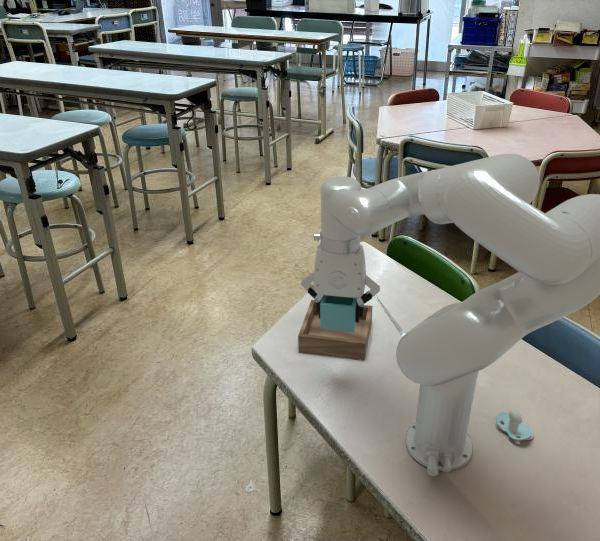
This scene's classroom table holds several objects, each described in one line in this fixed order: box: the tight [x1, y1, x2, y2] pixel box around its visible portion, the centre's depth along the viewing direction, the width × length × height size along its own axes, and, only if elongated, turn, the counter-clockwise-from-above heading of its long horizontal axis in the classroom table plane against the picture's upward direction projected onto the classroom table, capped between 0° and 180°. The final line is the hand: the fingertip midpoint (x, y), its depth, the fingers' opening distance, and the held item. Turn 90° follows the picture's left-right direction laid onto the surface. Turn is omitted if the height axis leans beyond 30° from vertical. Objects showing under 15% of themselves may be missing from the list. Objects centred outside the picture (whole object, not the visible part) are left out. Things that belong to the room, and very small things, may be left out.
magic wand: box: [376, 296, 407, 338], centre depth 146 cm, size 2×25×2 cm
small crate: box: [320, 295, 357, 332], centre depth 113 cm, size 7×7×6 cm
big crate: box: [297, 299, 374, 361], centre depth 136 cm, size 16×16×5 cm
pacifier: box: [496, 408, 535, 441], centre depth 108 cm, size 7×6×6 cm
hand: (339, 316), depth 114 cm, fingers closed on small crate, 7 cm apart
